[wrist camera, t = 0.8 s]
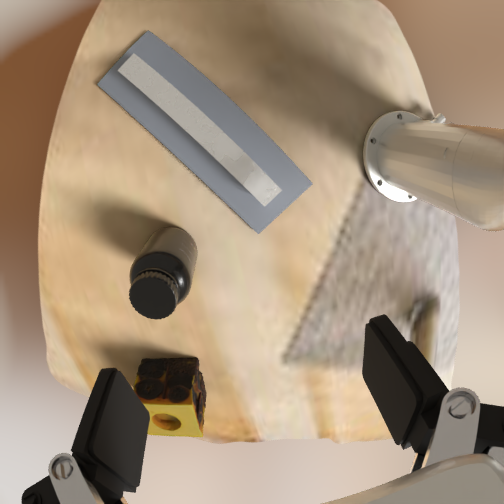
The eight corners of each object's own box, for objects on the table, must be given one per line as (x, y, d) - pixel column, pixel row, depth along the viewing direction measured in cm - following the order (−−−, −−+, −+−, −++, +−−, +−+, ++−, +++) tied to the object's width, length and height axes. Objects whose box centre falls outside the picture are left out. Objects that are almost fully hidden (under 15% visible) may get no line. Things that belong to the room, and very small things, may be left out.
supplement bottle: (161, 280, 38) (139, 334, 27) (139, 236, 35) (105, 279, 24) (206, 264, 38) (198, 318, 26) (186, 217, 35) (166, 256, 24)
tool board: (150, 33, 25) (148, 30, 24) (310, 182, 34) (312, 183, 33) (101, 85, 27) (97, 84, 26) (257, 230, 36) (258, 234, 35)
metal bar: (144, 61, 26) (133, 53, 22) (276, 184, 33) (282, 190, 29) (129, 76, 26) (117, 70, 23) (260, 198, 33) (264, 206, 30)
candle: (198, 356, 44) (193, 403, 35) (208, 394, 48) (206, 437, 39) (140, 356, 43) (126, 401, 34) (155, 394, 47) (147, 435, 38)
